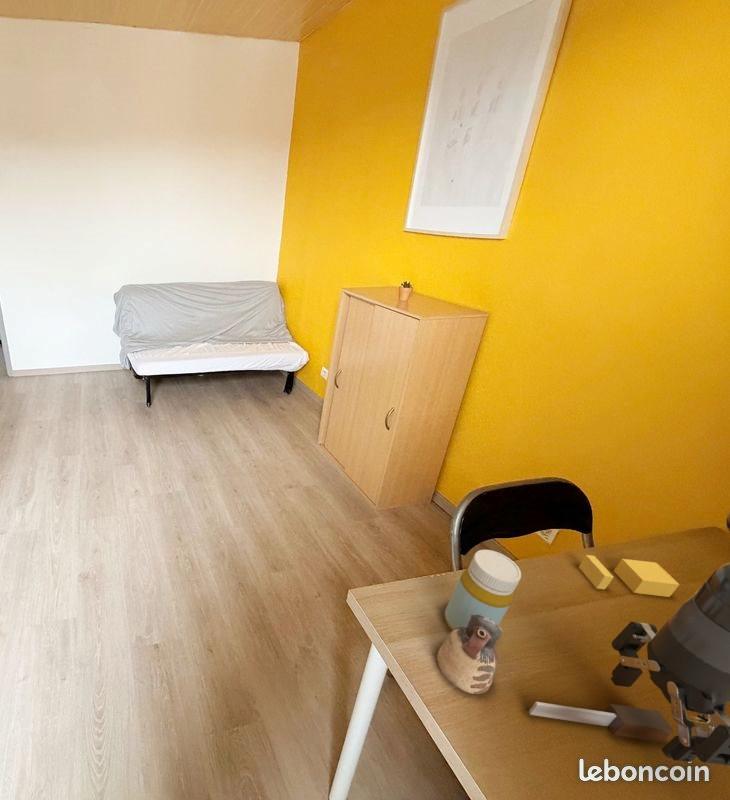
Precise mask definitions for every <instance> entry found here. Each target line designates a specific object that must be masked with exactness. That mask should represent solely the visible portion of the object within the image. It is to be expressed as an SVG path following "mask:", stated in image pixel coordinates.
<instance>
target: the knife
mask: <svg viewBox="0 0 730 800" xmlns="http://www.w3.org/2000/svg"><path fill="white" fill-rule="evenodd" d="M528 714H529V715H530V716H536V717H542V718H543V717H544V718H550V719H556V720H563V721H568V722H569V721H570V722H575V723H576V722H577V723H582V724H583V723H584V724H587V725H588V724H590V725H596V726H602V727H608V730H610V732H611V734H612V735H613V736H617V737H623V738H624V737H625V738H632V739H637V740H643V741H650V742H657V743H663V742H664V741H665V740H666V739H667V738H668V737H669V736H670V735H671V734H673V733H674V729H673V727H672V726H671V725H670V724H669V722H668V721H667V719H665V717H664V715H662V713H661V712H660V710H655V709H648V708H642V707H635V706H629V705H621V704H614V703H610V704H609V705H608V706H607V708H606V709H605V710H604V711H601V710H595V709H590V708H589V709H588V708H581V707H574V706H569V705H568V706H566V705H561V704H554V703H547V702H541V701H535V702H534V704H533V705H532V706H531V708H529V711H528Z"/></svg>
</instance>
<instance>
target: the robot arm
mask: <svg viewBox="0 0 730 800" xmlns="http://www.w3.org/2000/svg"><path fill="white" fill-rule="evenodd" d="M725 525H726V530H727V532H728V533H729V534H730V510H729V511H728V512H727V514H726V519H725ZM646 644H647V645H646ZM645 645H646V650H647V651H646V653H647V658H643V657H641V658H640V657H639V655H638V652H639V651H640V650H642V648H643V647H644V646H645ZM611 647H612V648H613V650H614V651H617V652H618V654H619V657H618V661H619V662H618V664H616V666H615V667H614V668H613V670H612V671H611V675H612V676H611V677H610V681H611V683H613V685H614V686H617V687H623V688H630V687H632V686H633V684H634V683H635V682H637V680H638V679H639V678H640V677H641V676H642V674H643V673H644V671H643V670H645V671H648V673H649V675H650V676H649V679H650V680H651V682H652V683H653V685H655V686H656V687H657V688H658V689H660V691H661V693H662V695H663V696H664V698H665V699H666V700H667V702H668V703H669V704H670V705H671V707H670V708H671V716H672V720H674V721H675V722H676V723H677V733H678V735H675V736H674V737H673V738H672V739H670V741H668V742H667V743H666V744H665V745H664V746H663V747H662V748H661V751H662V753H663V755H664V756H665V757H666V758H668V759H673V761H677V762H682V763H692V762H693V761H695V759H698V760H699V761H700V762H701V763H704V764H705V763H706V764H712V765H718V766H725V767H730V717H729V716H728V714H726V711H727V709H726V708H727V704H728V703H729V702H730V561H729V562H724V563H723V564H721V565H719V566H718V567H716V568H715V569H714V571H713V572H712V573H711V574H710V575H709V576H708V578H707V579H706V580H705V581H704V582H703V583H702V584H701V586H700V587H699V588H698V589H697V590H696V592H695V593H694V594H693V595H692V596H690V598H688V599H687V600H685V601H684V602H683V603H682V604H680V606H679V607H678V608H677V609H676V610H675V611H674V613H673V614H672V615H671V616H670V617H669V618H668V619H667V621H666V622H665V623H664V624H663V625H662V626H661V628H660V629H659V630H658V628H657V627H656V625H654V624H653V623H647V622H641V621H630V622H629V623H628V624H627V625H626V626H625V627H624V628H623V629H622V630H621V632H620V633H618V634H617V636H616V637H615V638H614V639H612V641H611ZM687 711H689V712H694V713H697V715H696V716H691V715H687ZM694 728H695V735H693V729H694Z"/></svg>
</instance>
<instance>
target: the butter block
mask: <svg viewBox="0 0 730 800" xmlns="http://www.w3.org/2000/svg"><path fill="white" fill-rule="evenodd" d="M613 572H614V573H615V574H616V575H617V576H618V577H619V579H621V581H622V582H623V583H624V584H625V585H626V586H627V588H629V590H630V591H631V592H632V593H634V594H641V595H649V596H650V595H651V596H659V597H665V598H666V597H667V598H670V597H671V596H672V595H673V594H674V592H675V591H676V590H677V588H678V587H679V586H680V583H679V582H678V581H677V580H676V579H674V577H673V576H671V575H670V573H668V572H667V571H666V570H665V569H664V568H663V567H662V566H661V565H660V564H659V563H658V562H654V561H646V560H638V559H637V560H636V559H628V558H621V559H620V561H619V562H618V564H617V565H616V567H615V568H614V569H613Z"/></svg>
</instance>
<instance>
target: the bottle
mask: <svg viewBox="0 0 730 800" xmlns="http://www.w3.org/2000/svg"><path fill="white" fill-rule="evenodd" d="M521 579H522V572H521V569H520V568H519V566H518V565H517V563H515V562H514V561H513V560H512V559H511V558H509V557H508V556H506V555H505V554H503V553H501V552H498V551H495V550H491V549H480V550H477V551H476V552H475V553H474V555H473V556H472V559H471V561H470V564H469V566H468V567H467V568H465V569H464V570H463V571H462V573H461V575H460V577H459V579H458V582H457V583H456V586H455V588H454V590H453V592H452V595H451V597H450V599H449V601H448V603H447V606H446V608H445V610H444V613H443V614H444V617H443V618H444V621H445V623H446V625H447V627H448V628H449V629H450V630H451V632H452V631H453V630H454V629H455V628H458V627H466V628H467V626H468V622H469V620H470V619H471V615H472V614H475V615H481V616H484V617H487V618H489V619H491V620H492V621H493V622H494V623H495V624H496V625H497V626H498V627H499V625H500V623H501V622H502V620H503V618H504V616H505V615H506V613H507V611H508V610H509V608H510V606H511V604H512V602H513V600H514V591H515V590H516V588H517V586H518V584H519V582H520V581H521Z"/></svg>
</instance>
